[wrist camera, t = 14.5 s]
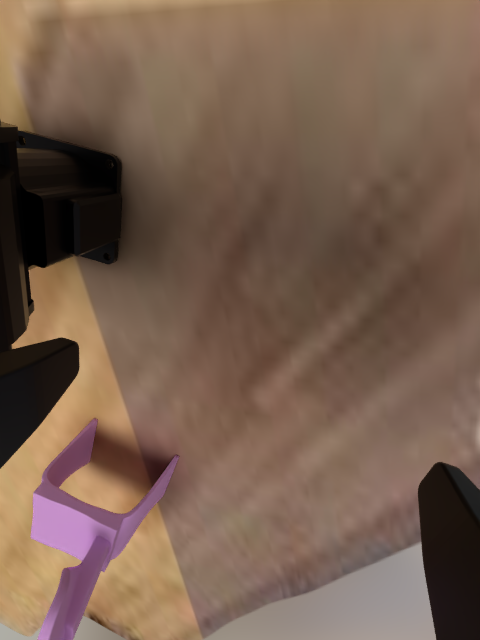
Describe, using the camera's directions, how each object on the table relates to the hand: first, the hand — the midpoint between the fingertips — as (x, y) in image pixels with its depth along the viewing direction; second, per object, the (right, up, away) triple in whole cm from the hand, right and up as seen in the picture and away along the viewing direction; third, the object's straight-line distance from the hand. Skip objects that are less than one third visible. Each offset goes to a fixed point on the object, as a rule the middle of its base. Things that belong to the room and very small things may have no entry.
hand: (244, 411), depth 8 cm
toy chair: (-10, -10, +23) cm, 27 cm away
